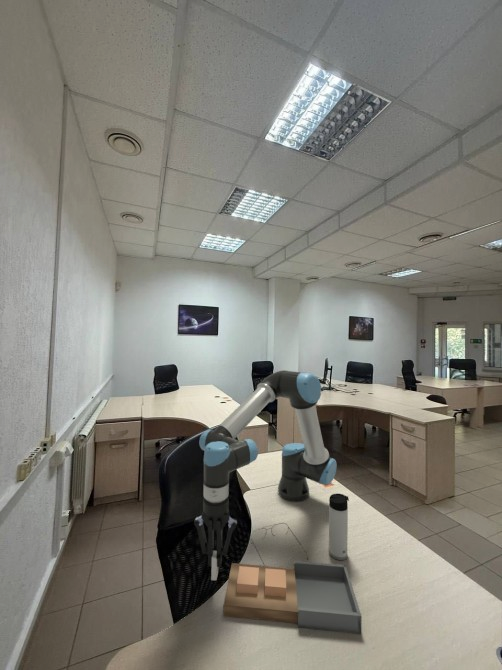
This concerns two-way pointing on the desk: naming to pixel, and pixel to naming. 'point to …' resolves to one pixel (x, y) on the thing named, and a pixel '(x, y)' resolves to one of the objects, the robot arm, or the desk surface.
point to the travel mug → (338, 526)
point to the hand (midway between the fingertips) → (214, 576)
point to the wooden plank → (261, 598)
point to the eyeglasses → (274, 535)
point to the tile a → (248, 580)
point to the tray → (326, 598)
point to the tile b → (275, 582)
